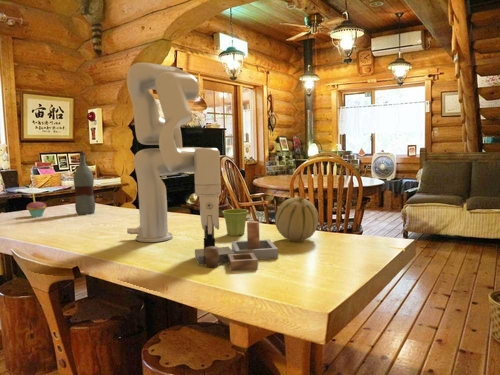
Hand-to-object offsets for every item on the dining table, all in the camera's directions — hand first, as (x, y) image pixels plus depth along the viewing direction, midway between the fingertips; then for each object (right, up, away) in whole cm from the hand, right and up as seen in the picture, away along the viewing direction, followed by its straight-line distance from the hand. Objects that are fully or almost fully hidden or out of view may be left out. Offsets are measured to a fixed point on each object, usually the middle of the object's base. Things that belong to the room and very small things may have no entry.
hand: (209, 251), depth 122 cm
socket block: (+10, -2, -12) cm, 16 cm away
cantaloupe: (+28, +1, +16) cm, 32 cm away
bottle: (-69, +6, +81) cm, 107 cm away
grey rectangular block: (+2, -2, -5) cm, 6 cm away
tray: (+13, -1, 0) cm, 13 cm away
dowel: (+13, 0, 0) cm, 13 cm away
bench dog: (+2, -2, -11) cm, 12 cm away
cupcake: (-91, +5, +76) cm, 118 cm away
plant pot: (+7, +2, +27) cm, 28 cm away
